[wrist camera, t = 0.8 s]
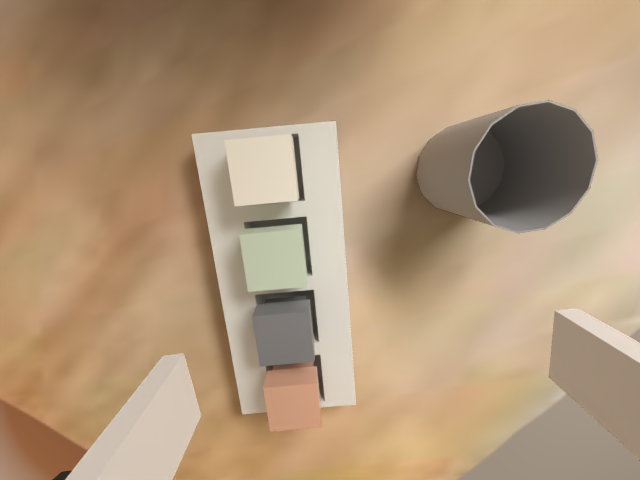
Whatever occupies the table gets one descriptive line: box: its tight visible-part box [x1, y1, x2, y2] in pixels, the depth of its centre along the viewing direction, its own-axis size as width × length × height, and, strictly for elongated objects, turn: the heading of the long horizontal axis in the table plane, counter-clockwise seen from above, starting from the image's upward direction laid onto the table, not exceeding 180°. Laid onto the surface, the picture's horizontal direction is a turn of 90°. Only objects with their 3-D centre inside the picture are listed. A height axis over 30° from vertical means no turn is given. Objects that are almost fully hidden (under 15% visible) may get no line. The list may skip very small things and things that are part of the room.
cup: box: [416, 100, 598, 233], centre depth 24 cm, size 8×8×10 cm
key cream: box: [224, 134, 299, 206], centre depth 24 cm, size 5×5×4 cm
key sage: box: [239, 224, 307, 292], centre depth 25 cm, size 5×5×4 cm
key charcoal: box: [252, 296, 315, 366], centre depth 27 cm, size 5×5×4 cm
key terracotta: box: [263, 362, 322, 432], centre depth 29 cm, size 5×5×4 cm
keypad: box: [191, 121, 356, 414], centre depth 29 cm, size 28×12×4 cm, turn 5°
